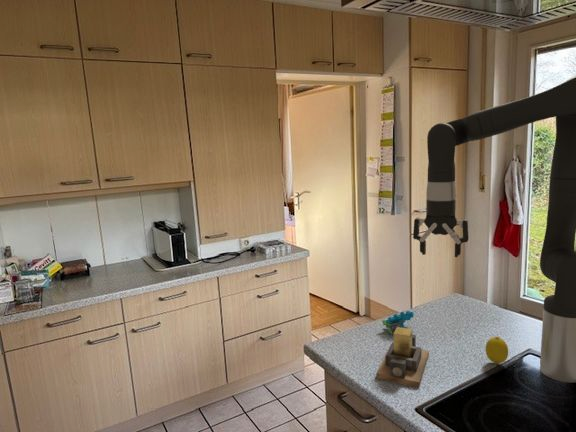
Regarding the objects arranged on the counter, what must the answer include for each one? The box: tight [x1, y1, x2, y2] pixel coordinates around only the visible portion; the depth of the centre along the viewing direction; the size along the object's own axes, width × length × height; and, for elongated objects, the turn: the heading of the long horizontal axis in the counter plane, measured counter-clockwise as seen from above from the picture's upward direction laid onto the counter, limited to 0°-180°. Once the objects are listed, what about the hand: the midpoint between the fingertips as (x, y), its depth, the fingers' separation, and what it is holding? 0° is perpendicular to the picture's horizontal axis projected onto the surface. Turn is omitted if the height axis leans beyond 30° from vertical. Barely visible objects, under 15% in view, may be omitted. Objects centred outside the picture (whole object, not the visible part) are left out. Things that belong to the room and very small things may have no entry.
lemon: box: [485, 336, 509, 365], centre depth 110 cm, size 6×6×8 cm
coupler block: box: [393, 326, 413, 358], centre depth 111 cm, size 4×4×9 cm
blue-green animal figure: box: [382, 310, 415, 335], centre depth 133 cm, size 11×6×10 cm
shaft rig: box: [375, 334, 430, 388], centre depth 111 cm, size 11×17×6 cm, turn 153°
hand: (440, 255), depth 112 cm, fingers open, 8 cm apart
